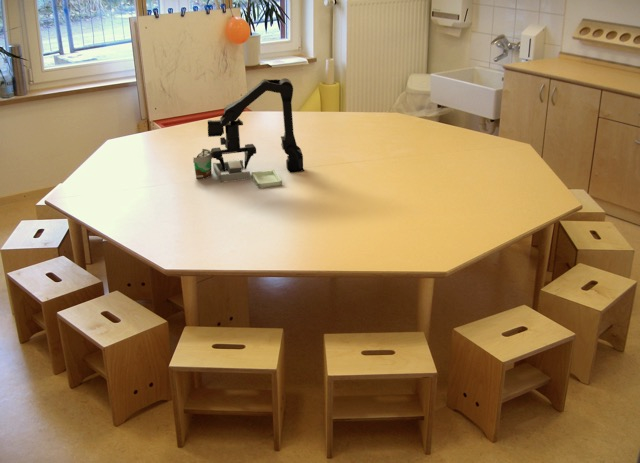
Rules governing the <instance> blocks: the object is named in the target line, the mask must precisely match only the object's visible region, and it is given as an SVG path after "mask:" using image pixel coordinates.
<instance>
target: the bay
mask: <svg viewBox="0 0 640 463" xmlns="http://www.w3.org/2000/svg"><path fill="white" fill-rule="evenodd" d="M239 161H240V164H241V168H243V167H244V161H243V159H239ZM212 165H213V172H214V173H215V175H216V177H217V179H218V181H219V183H225V182H224V181H227V182H235V181H234V180H236V181H242V179H244V180H250V179H251V172H250V171H242V172H239V173H231V174H229V173H224V174H222V173H221V170H223V168H222V165H221V163H220V161H219V162H213V163H212ZM224 166H225V170H228V162H227V161H224Z"/></svg>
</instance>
